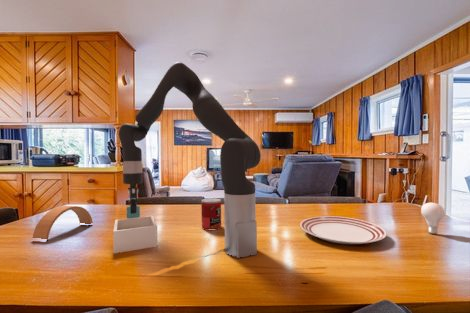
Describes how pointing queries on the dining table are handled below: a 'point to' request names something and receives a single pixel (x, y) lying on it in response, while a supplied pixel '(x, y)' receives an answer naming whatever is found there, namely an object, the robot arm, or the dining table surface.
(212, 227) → the canned food
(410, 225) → the dining table surface
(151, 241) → the tub
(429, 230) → the lightbulb
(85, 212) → the arch
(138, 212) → the lid
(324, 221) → the dinner plate
